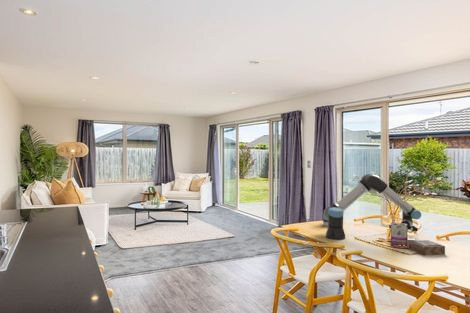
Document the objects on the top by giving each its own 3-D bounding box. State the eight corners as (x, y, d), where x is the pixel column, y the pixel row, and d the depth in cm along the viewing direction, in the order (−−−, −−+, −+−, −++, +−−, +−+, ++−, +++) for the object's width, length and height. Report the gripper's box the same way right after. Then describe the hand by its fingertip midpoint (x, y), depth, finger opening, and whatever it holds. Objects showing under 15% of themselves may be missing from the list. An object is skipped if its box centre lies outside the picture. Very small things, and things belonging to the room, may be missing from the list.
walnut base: (423, 255, 232) (423, 246, 232) (408, 248, 248) (408, 240, 248) (444, 254, 235) (445, 245, 235) (428, 247, 251) (428, 239, 251)
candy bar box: (407, 245, 256) (407, 223, 256) (407, 247, 252) (407, 224, 252) (391, 243, 262) (391, 222, 262) (390, 245, 257) (390, 223, 257)
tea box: (333, 226, 322) (333, 210, 322) (322, 225, 328) (322, 209, 328) (339, 224, 334) (339, 208, 334) (329, 222, 340) (329, 207, 340)
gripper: (422, 231, 275) (419, 237, 257) (388, 227, 289) (383, 232, 271) (422, 222, 275) (419, 226, 257) (389, 218, 289) (383, 223, 271)
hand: (401, 229), depth 264 cm, fingers open, 13 cm apart
